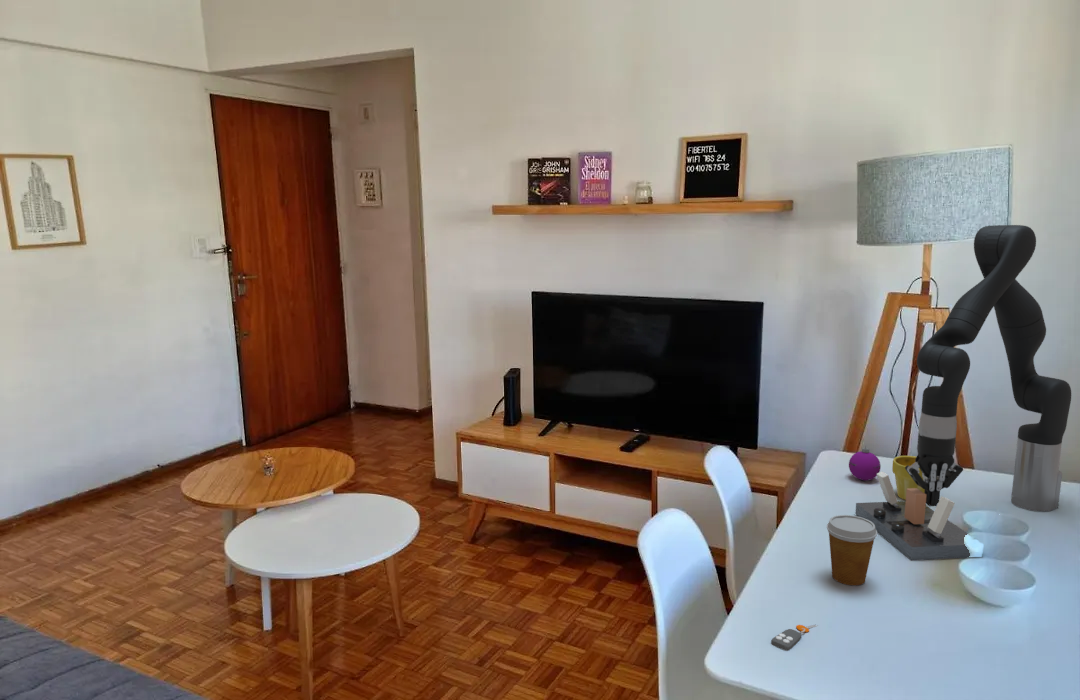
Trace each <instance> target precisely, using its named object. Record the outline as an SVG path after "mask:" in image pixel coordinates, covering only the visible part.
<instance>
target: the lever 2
mask: <svg viewBox="0 0 1080 700" xmlns="http://www.w3.org/2000/svg"><path fill="white" fill-rule="evenodd" d="M954 506H955V502H954V501H952V500H951V499H949V498H948V497H945V496H942V495H941V496H940V497H939V502H938V504H937V506H935V509H934V510H933V511H934V513H933V516H932V518H931V520H930V522H929V525H928V527H927V531H929V532H930V533H932V534H933V535H934V536H936V537H937V538H939V537H940V535H939V534H941V533H942V531H943V528H944V526H945V524H946V522H947V520H948V519H949V517H950V515H951V513H952V511H953V509H954ZM948 521H949V520H948ZM938 533H939V534H938Z"/></svg>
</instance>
